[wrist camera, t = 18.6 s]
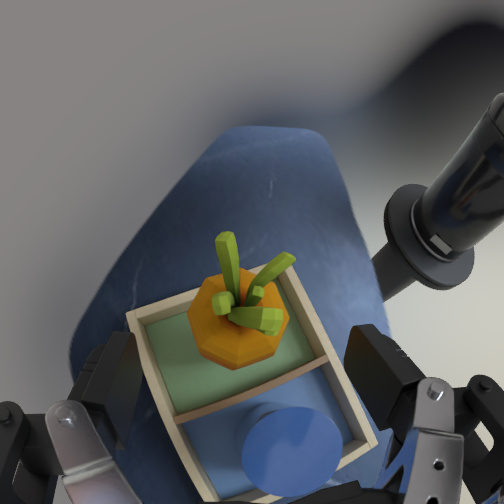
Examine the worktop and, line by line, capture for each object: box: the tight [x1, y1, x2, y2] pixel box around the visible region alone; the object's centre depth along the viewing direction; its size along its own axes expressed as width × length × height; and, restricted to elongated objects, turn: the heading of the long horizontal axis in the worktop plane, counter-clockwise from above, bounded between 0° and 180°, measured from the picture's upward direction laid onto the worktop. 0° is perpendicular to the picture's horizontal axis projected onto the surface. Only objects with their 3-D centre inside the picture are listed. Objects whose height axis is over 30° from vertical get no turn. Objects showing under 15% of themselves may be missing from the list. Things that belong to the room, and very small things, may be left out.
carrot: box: [187, 231, 296, 371], centre depth 16 cm, size 5×5×15 cm
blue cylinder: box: [234, 402, 343, 497], centre depth 16 cm, size 6×6×7 cm
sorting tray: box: [126, 263, 378, 504], centre depth 20 cm, size 14×18×3 cm
